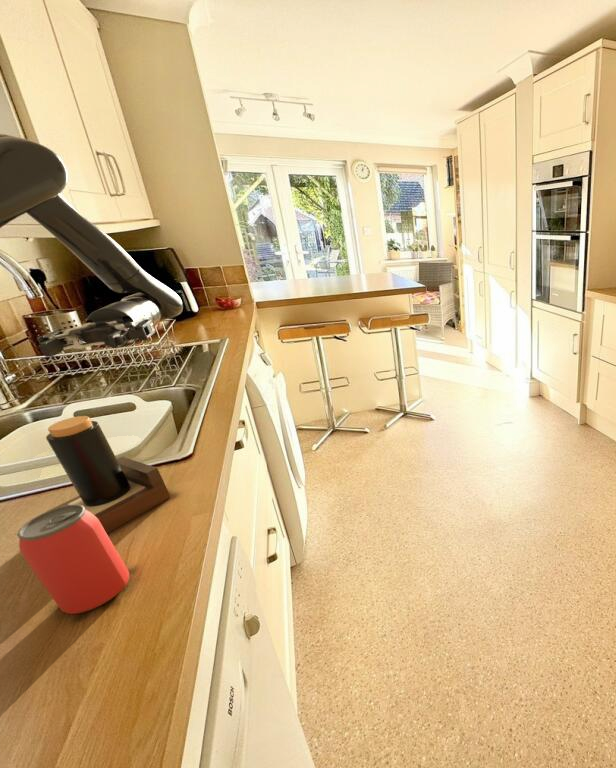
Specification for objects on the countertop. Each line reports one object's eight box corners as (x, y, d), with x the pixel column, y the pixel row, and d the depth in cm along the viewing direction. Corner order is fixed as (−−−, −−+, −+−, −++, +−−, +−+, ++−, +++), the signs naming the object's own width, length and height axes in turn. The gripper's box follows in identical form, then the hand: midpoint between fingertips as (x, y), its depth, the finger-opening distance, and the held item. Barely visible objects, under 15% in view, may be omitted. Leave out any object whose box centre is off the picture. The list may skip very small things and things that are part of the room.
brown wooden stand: (55, 526, 64) (36, 495, 62) (136, 484, 74) (122, 456, 71) (90, 543, 61) (71, 511, 58) (171, 497, 70) (157, 467, 68)
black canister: (76, 501, 65) (33, 428, 59) (118, 480, 69) (82, 411, 64) (96, 510, 63) (53, 435, 57) (138, 488, 67) (102, 417, 62)
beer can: (135, 590, 53) (93, 517, 48) (64, 627, 48) (9, 551, 43) (127, 563, 57) (87, 494, 52) (60, 596, 52) (10, 523, 48)
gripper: (66, 308, 76) (8, 330, 63) (159, 299, 81) (124, 318, 67) (84, 347, 80) (33, 376, 66) (173, 336, 84) (142, 361, 70)
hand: (79, 346), depth 67 cm, fingers open, 8 cm apart
